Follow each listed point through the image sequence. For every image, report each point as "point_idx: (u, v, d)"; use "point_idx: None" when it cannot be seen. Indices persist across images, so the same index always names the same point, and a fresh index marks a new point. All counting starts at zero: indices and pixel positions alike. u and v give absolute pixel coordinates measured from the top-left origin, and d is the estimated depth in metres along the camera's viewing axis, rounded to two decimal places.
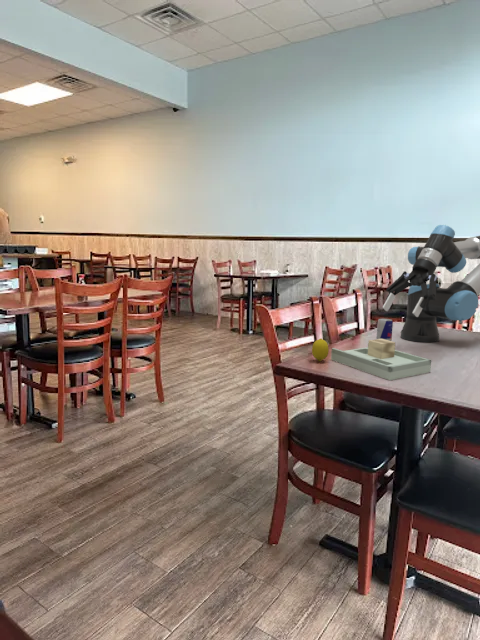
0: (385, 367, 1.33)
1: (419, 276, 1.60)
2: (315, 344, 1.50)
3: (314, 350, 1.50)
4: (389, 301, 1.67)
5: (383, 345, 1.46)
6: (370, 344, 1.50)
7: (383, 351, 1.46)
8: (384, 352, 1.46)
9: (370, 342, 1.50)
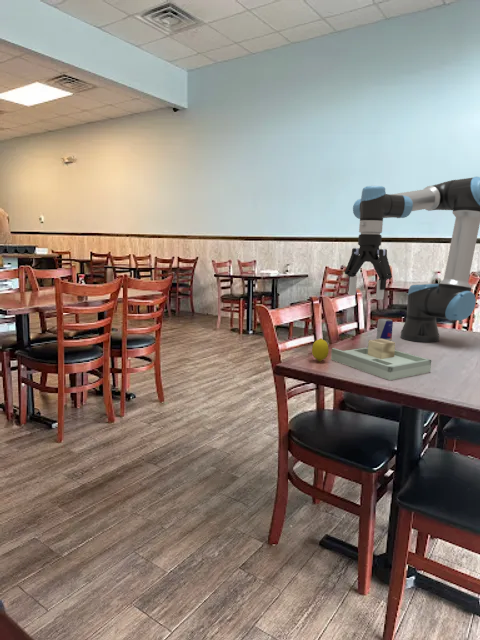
0: (385, 367, 1.33)
1: (368, 254, 1.50)
2: (315, 344, 1.50)
3: (314, 350, 1.50)
4: (352, 285, 1.59)
5: (383, 345, 1.46)
6: (370, 344, 1.50)
7: (383, 351, 1.46)
8: (384, 352, 1.46)
9: (370, 342, 1.50)
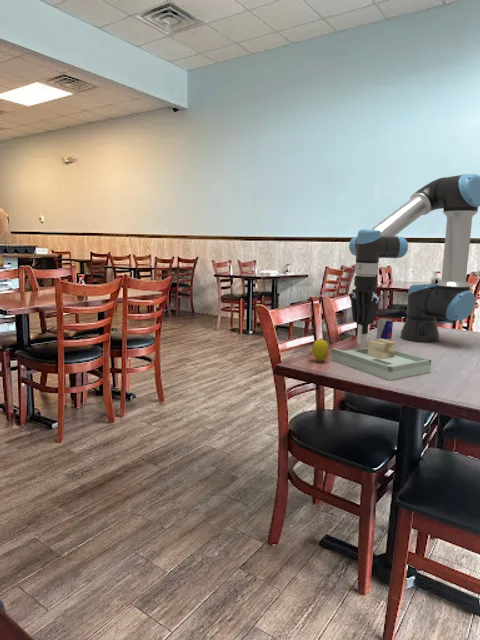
0: (385, 367, 1.33)
1: (363, 296, 1.52)
2: (315, 344, 1.50)
3: (314, 350, 1.50)
4: None
5: (383, 345, 1.46)
6: (370, 344, 1.50)
7: (383, 351, 1.46)
8: (384, 352, 1.46)
9: (370, 342, 1.50)
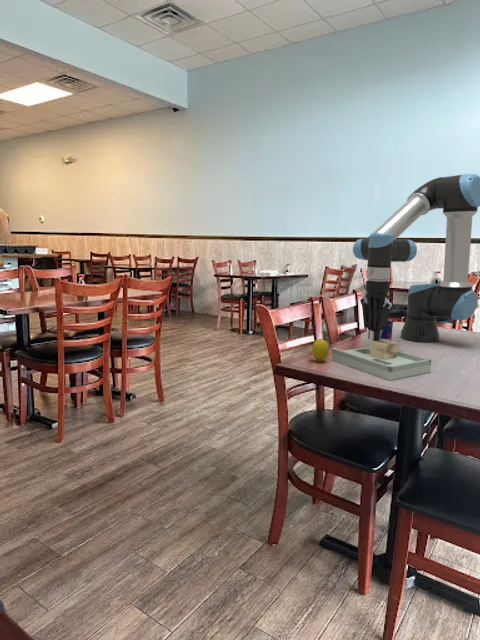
0: (385, 367, 1.33)
1: (375, 302, 1.48)
2: (315, 344, 1.50)
3: (314, 350, 1.50)
4: None
5: (385, 346, 1.45)
6: (372, 345, 1.49)
7: (386, 351, 1.45)
8: (387, 352, 1.45)
9: (372, 343, 1.49)
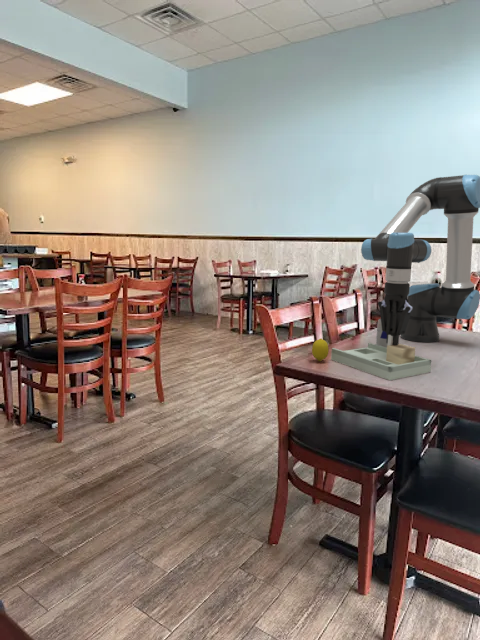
0: (385, 367, 1.33)
1: (394, 305, 1.41)
2: (315, 344, 1.50)
3: (314, 350, 1.50)
4: (391, 344, 1.45)
5: (403, 351, 1.38)
6: (388, 350, 1.43)
7: (403, 357, 1.39)
8: (404, 358, 1.39)
9: (389, 347, 1.42)
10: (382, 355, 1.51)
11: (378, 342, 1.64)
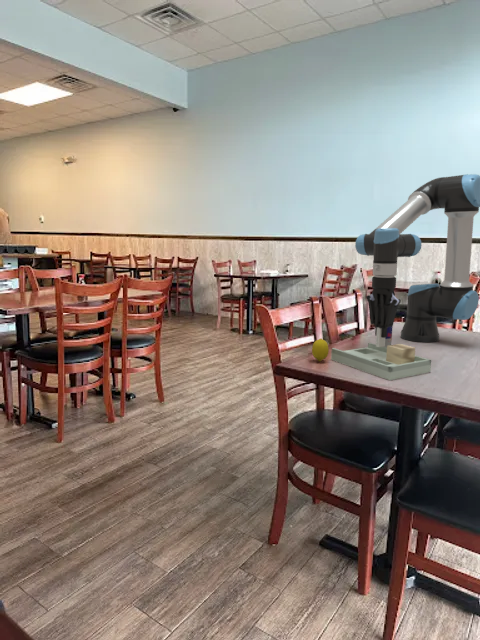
0: (385, 367, 1.33)
1: (382, 298, 1.46)
2: (315, 344, 1.50)
3: (314, 350, 1.50)
4: None
5: (403, 351, 1.38)
6: (388, 350, 1.43)
7: (403, 357, 1.39)
8: (404, 358, 1.39)
9: (389, 347, 1.42)
10: (382, 355, 1.51)
11: None
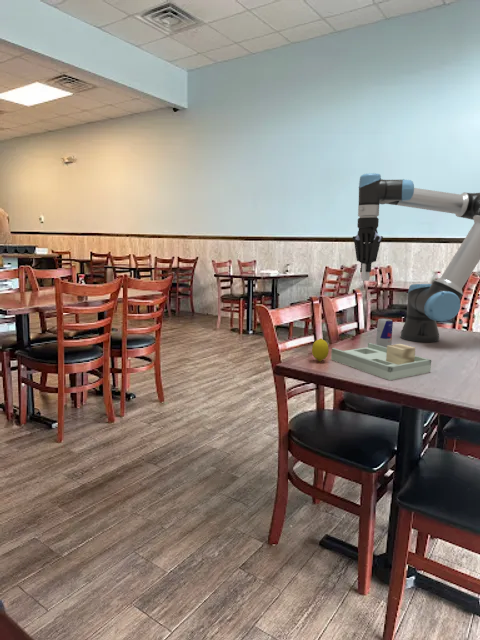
0: (385, 367, 1.33)
1: (366, 236, 1.66)
2: (315, 344, 1.50)
3: (314, 350, 1.50)
4: None
5: (403, 351, 1.38)
6: (388, 350, 1.43)
7: (403, 357, 1.39)
8: (404, 358, 1.39)
9: (389, 347, 1.42)
10: (382, 355, 1.51)
11: (378, 342, 1.64)
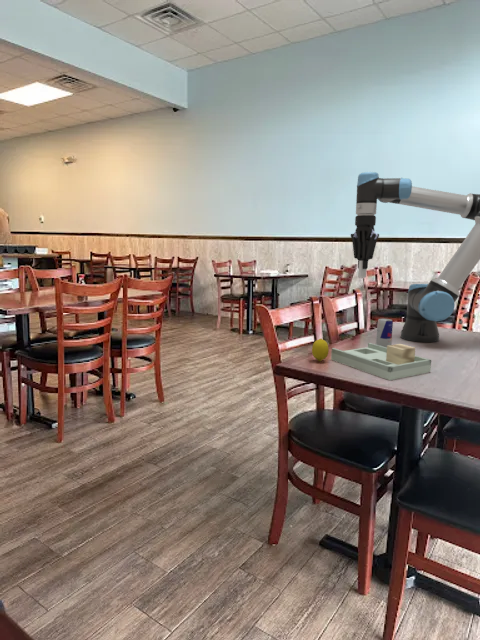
0: (385, 367, 1.33)
1: (363, 234, 1.69)
2: (315, 344, 1.50)
3: (314, 350, 1.50)
4: None
5: (403, 351, 1.38)
6: (388, 350, 1.43)
7: (403, 357, 1.39)
8: (404, 358, 1.39)
9: (389, 347, 1.42)
10: (382, 355, 1.51)
11: (378, 342, 1.64)
